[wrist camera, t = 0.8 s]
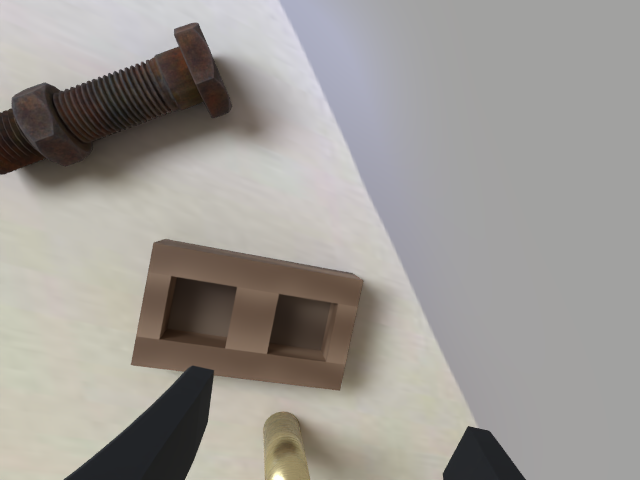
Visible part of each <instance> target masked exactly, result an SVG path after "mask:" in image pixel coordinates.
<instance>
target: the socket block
mask: <svg viewBox="0 0 640 480" xmlns="http://www.w3.org/2000/svg"><path fill="white" fill-rule="evenodd" d="M362 284H363V280H362V279H360V278H359V277H357V276H356V275H354V274H353V273H348V272H342V271H337V270H331V269H326V268H320V267H315V266H310V265H304V264H299V263H293V262H288V261H282V260H277V259H271V258H266V257H260V256H255V255H249V254H244V253H238V252H233V251H228V250H222V249H217V248H211V247H206V246H200V245H195V244H189V243H184V242H178V241H173V240H167V239H164V240H161V241H158V242H154V243H153V249H152V254H151V259H150V265H149V270H148V276H147V281H146V286H145V292H144V297H143V303H142V308H141V313H140V319H139V324H138V330H137V335H136V340H135V346H134V351H133V357H132V362H131V365H134V366H142V367H151V368H159V369H167V370H175V371H183V372H185V371H186V370H187V369H188V368H189V367H191V366H192V365H193V366H198V367H202V368H207V369H211V370H214V375H216V376H225V377H233V378H241V379H249V380H258V381H266V382H274V383H282V384H290V385H299V386H307V387H315V388H323V389H332V390H340V388H341V383H342V379H343V374H344V369H345V364H346V360H347V355H348V350H349V346H350V341H351V336H352V331H353V327H354V322H355V317H356V313H357V308H358V303H359V298H360V294H361V289H362Z"/></svg>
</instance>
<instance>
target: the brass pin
mask: <svg viewBox="0 0 640 480" xmlns="http://www.w3.org/2000/svg"><path fill="white" fill-rule="evenodd" d="M263 434H264V464H265V480H310V476H309V471H308V466H307V461H306V456H305V451H304V446H303V441H302V436H301V431H300V426H299V422H298V420H297V418H296V417H295V416H294V415H292V414H291V413H288V412H278V413H275V414H273V415H272V416H270V417H269V418H268V419H267V421H266V422H265V425H264V429H263Z"/></svg>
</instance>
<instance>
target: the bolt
mask: <svg viewBox="0 0 640 480" xmlns="http://www.w3.org/2000/svg"><path fill="white" fill-rule="evenodd" d="M174 36H175V38H176V40H177V43H178V45H179V47H177V48H174V49H171V50H168V51H166V52H163V53H160V54H158V55H156V56H155V57H154V58H152V59H151V60H146V64H145V63H144V62H141V66H140V65H139V64H136V66H135V67H133V66H130V70H129V69H128V68H127V67H126V68H125V71H123V70H121V69H120V70H119V74H118V73H117V72H116V71H114V73H113V75H112V74H111V73H108V77H107V76H105V75H104V76H103V78H101V77H98V80H96V79H93V80H92V82H90V81H87V84H86V83H82V84H81V86H80V85H76V88H74V87H71V88H70V90H69V89H65V91H60V90H59V89H57V88H56V87H54V86H52V85H50V84H47V83H42V84H39V85H36V86H33V87H30V88H27V89H25V90H23V91H21V92H19V93H18V94H16V95H15V96H14V97H12V109H9V110H8V111H3V113H1V112H0V174H7V173H8V172H12V171H13V170H17V169H19V168H22V167H24V166H27V165H29V164H33V163H35V162H38V161H39V160H43V159H46V158H47V159H49V160H50V161H52V162H55V163H58V164H60V165H63V166H68V165H71V164H73V163H76V162H79V161H81V160H83V159H84V158H86V157H87V156H88V155H89V154H90V152H91V151H92V141H95V140H96V139H101V137H106V135H111V134H112V133H116V132H117V131H119V132H120V131H121V130H122V129H124V130H125V129H126V128H127V127H128V128H130V127H132V126H136V125H137V124H141V123H142V122H146V121H147V120H151V119H152V118H154V119H155V118H156V116H158V117H160V116H161V113H162V114H163V115H166V112H168V113H171V110H173V111H176V110H183V109H186V108H189V107H191V106H194V105H197V104H200V103H202V102H204V103H205V105H206V107H207V109H208V111H209V113H210V115H211V117H212V118H215V117H218V116H221V115H223V114H226V113H228V112H229V111H230V110H231V107H232V104H231V101H230V98H229V96H228V93H227V91H226V88H225V86H224V83H223V81H222V79H221V76H220V74H219V71H218V69H217V67H216V64H215V62H214V60H213V57H212V54H211V52H210V49H209V47H208V45H207V42H206V40H205V38H204V35H203V33H202V31H201V29H200V26H199V24H198V23H191V24H188V25H185V26H182V27H179V28H176V29H174Z"/></svg>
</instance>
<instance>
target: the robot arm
mask: <svg viewBox="0 0 640 480" xmlns="http://www.w3.org/2000/svg"><path fill="white" fill-rule="evenodd" d="M213 376H214V370H211V369H207V368H202V367H198V366H193V365H192V366H191V367H189V368H188V369H187V370H186V371H185V372H184V373H183V374H182V375H181V376H180V377H179V378H178V379H177V380H176V381H175V382H174V384H173V385H172V386H171V387H170V388H169V389H168V390H167V391H166V392H165V393H164V394H163V395H162V396H161V397H160V398H159V399H157V400H156V401H155V402H154V403H153V404H152V405H151V406H150V407H149V408H148V409H147V410H146V411H145V412H144V413H143V414H142V415H140V416H139V417H138V418H137V419H136V420H135V421H134V422H133V423H132V424H131V425H130V426H128V427H127V428H126V429H125V430H124V431H123V432H122V433H120V434H119V435H118V436H117V437H116V438H115V439H113V440H112V441H111V442H110V443H109V444H107V445H106V446H105V447H104V448H103V449H101V450H100V451H99V452H98V453H97V454H96V455H94V456H93V457H92V458H91V459H89V460H88V461H87V462H86V463H84V464H83V465H82V466H81V467H79V468H78V469H77V470H76V471H74V472H73V473H72V474H70V475H69V476H68V477H66V478H65V479H64V480H185V478H186V476H187V474H188V472H189V470H190V467H191V465H192V463H193V461H194V458H195V456H196V453H197V450H198V448H199V445H200V442H201V439H202V437H203V434H204V431H205V428H206V426H207V423H208V416H209V408H210V400H211V392H212V384H213ZM443 480H526V479H525V478H524V477H523V475H522V474H521V473H520V471H519V470H518V469H517V467H516V466H515V465H514V463H513V462H512V461H511V459H510V458H509V456H508V455H507V454H506V452H505V451H504V450H503V448H502V447H501V445H500V444H499V443H498V441H497V440H496V439H495V437H494V436H493V435H492V434H491V432H490V431H488V430H483V429H479V428H474V427H470V426H468V427H467V429H466V431H465V433H464V435H463V437H462V439H461V440H460V442H459V444H458V446H457V448H456V450H455V452H454V454H453V455H452V457H451V459H450V461H449V463H448V465H447V467H446V469H445V470H444V472H443Z"/></svg>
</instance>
